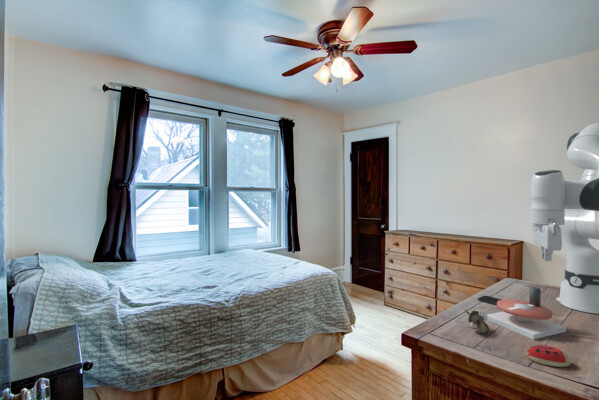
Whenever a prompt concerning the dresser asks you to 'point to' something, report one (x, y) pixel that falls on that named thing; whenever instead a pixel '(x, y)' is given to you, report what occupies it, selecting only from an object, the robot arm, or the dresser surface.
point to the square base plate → (526, 325)
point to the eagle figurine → (478, 322)
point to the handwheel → (527, 306)
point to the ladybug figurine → (548, 356)
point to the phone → (489, 300)
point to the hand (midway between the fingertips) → (546, 260)
